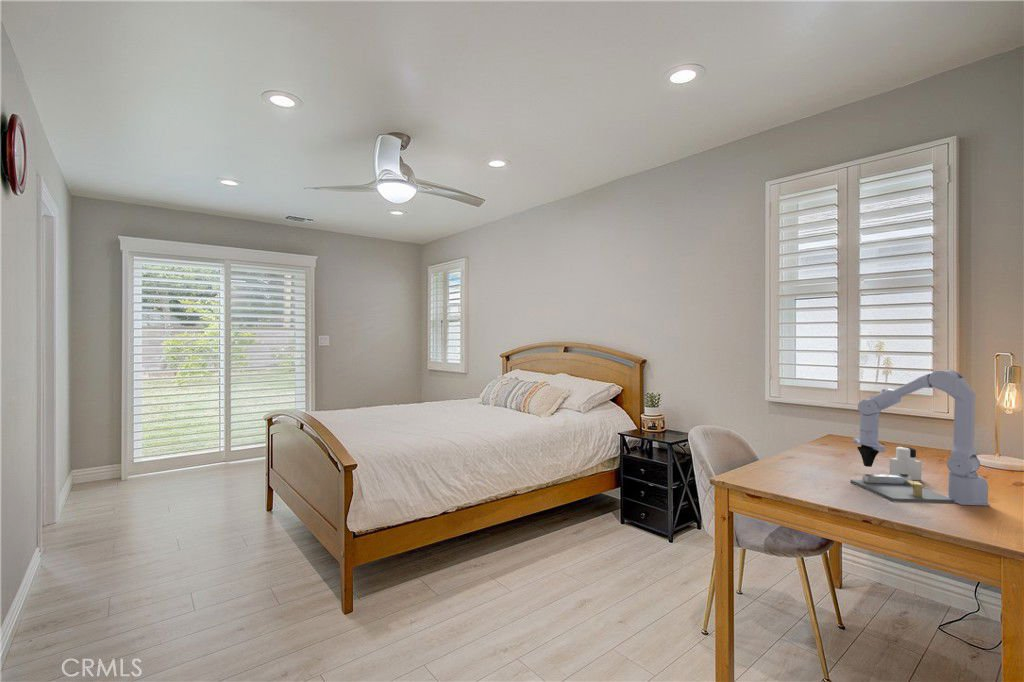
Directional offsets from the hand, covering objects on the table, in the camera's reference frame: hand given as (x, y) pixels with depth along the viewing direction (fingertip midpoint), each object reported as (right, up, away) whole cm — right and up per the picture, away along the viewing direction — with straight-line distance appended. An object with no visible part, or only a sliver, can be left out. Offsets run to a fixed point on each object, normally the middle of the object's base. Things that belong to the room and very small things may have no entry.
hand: (867, 466), depth 185 cm
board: (+1, -6, -14) cm, 15 cm away
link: (+2, -4, -7) cm, 8 cm away
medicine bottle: (+18, -6, +4) cm, 19 cm away
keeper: (+2, -5, -19) cm, 20 cm away
